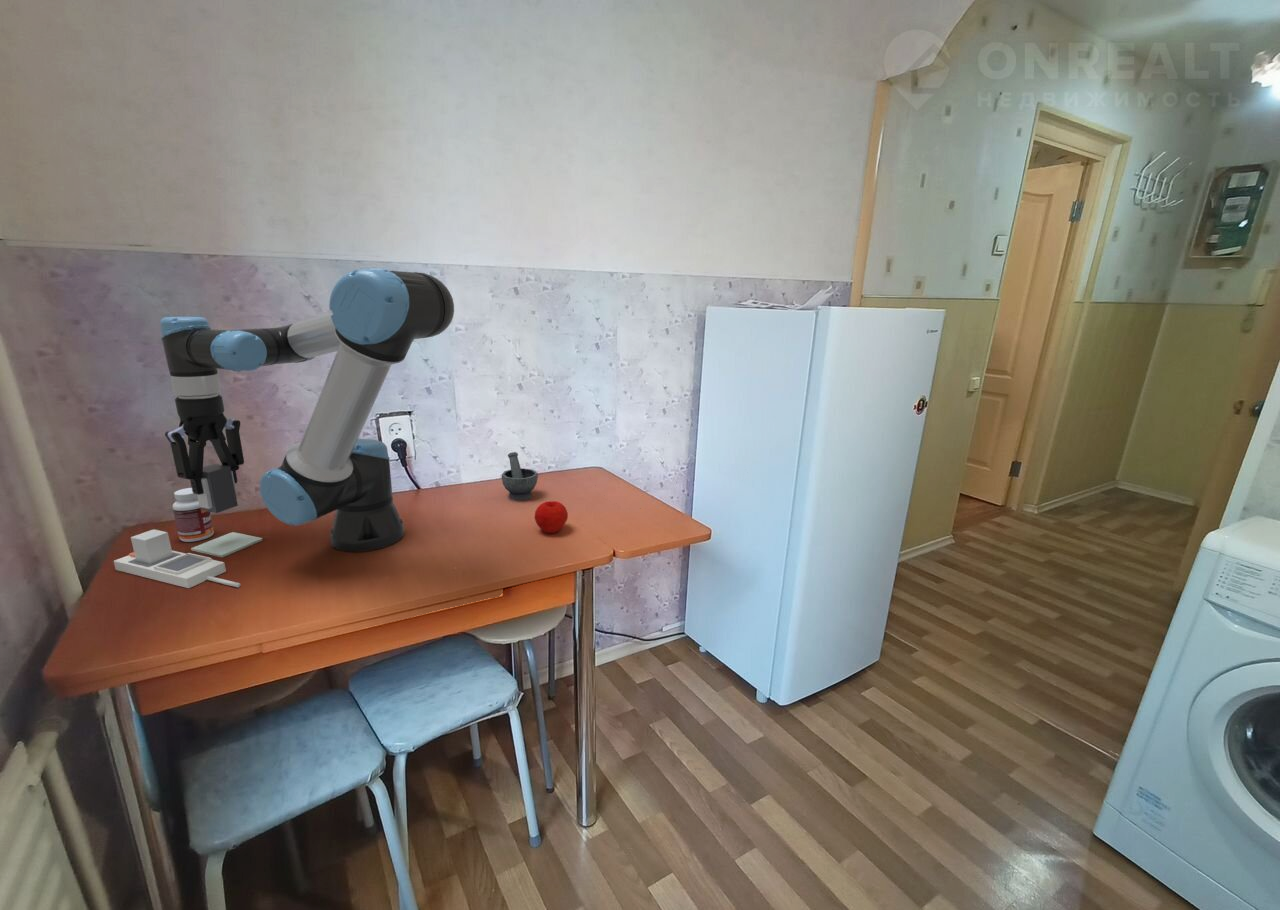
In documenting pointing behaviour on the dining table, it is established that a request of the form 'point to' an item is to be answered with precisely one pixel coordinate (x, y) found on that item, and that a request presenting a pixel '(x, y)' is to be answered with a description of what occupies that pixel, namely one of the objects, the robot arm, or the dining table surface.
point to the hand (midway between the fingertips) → (218, 502)
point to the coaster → (226, 544)
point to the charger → (220, 487)
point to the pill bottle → (191, 517)
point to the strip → (169, 562)
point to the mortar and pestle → (519, 479)
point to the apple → (551, 516)
